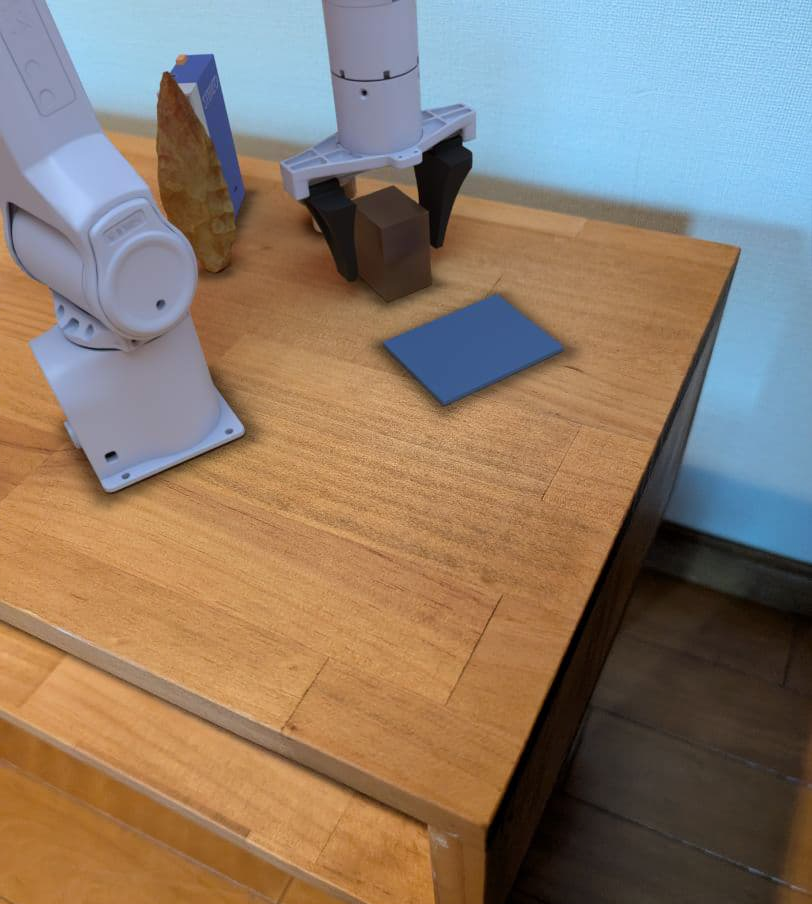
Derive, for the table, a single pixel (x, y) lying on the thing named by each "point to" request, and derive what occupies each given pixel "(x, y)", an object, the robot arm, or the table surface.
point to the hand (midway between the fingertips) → (390, 258)
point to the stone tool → (192, 179)
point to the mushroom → (350, 192)
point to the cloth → (471, 348)
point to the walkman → (211, 115)
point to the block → (392, 243)
